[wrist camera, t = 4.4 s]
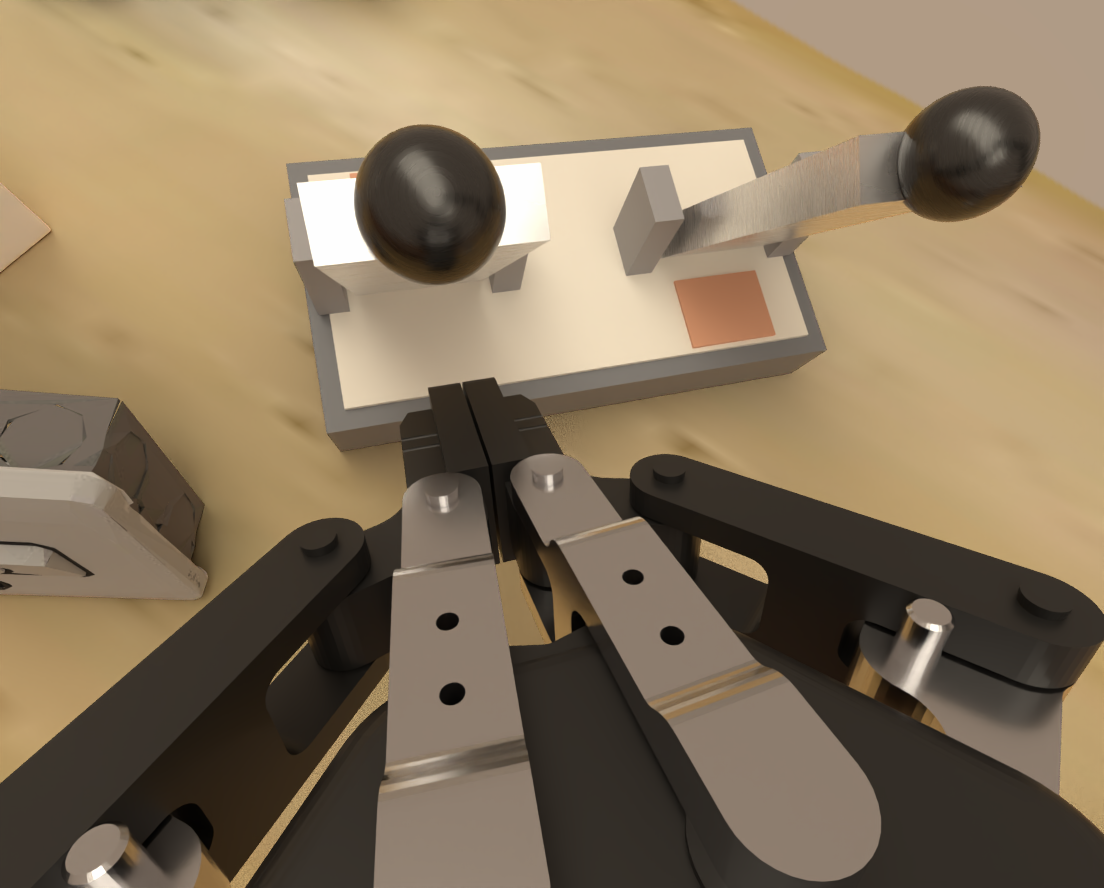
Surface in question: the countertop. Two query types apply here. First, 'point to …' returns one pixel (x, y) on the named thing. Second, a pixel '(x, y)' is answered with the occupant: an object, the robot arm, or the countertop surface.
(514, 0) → the countertop surface
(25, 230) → the milk
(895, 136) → the lever inner
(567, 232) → the switch panel
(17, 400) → the electrical switch
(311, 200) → the lever outer
